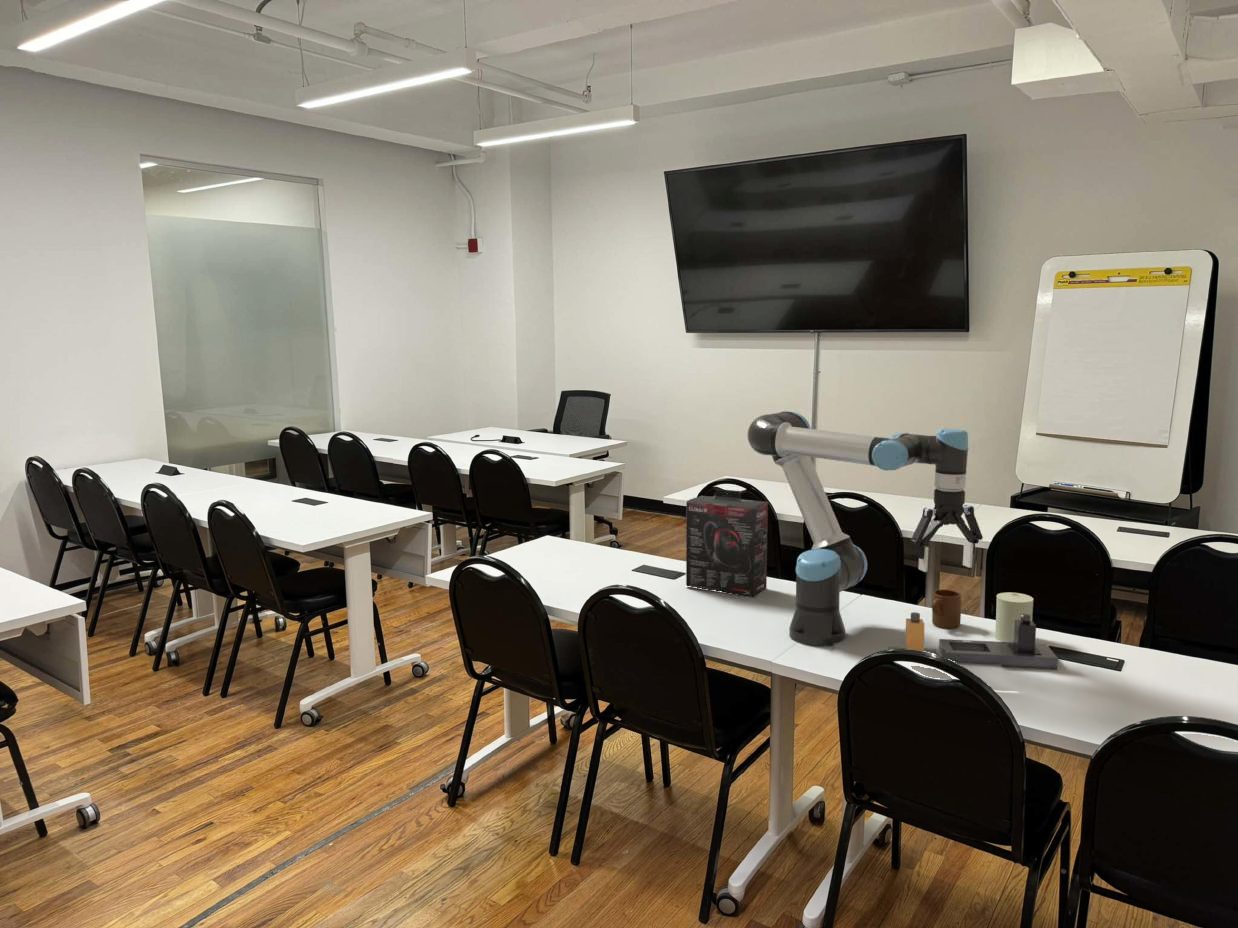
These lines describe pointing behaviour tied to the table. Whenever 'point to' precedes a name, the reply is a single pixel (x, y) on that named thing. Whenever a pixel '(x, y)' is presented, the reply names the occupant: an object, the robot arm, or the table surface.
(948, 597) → the mug
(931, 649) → the parts mat
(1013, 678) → the table surface
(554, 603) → the table surface
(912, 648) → the orange bottle
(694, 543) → the headset box
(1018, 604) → the can
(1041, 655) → the grey fixture base
